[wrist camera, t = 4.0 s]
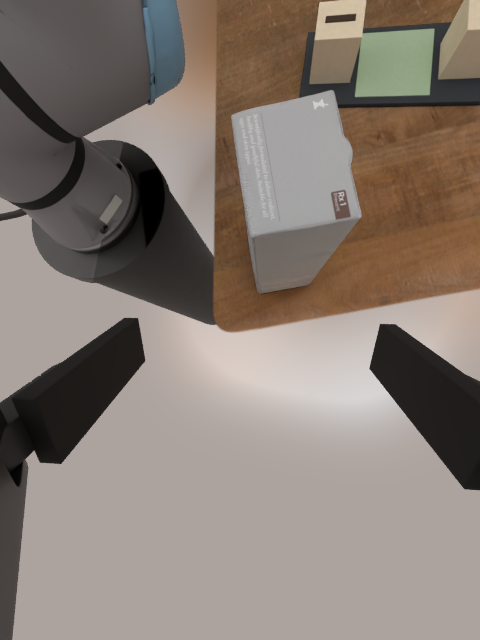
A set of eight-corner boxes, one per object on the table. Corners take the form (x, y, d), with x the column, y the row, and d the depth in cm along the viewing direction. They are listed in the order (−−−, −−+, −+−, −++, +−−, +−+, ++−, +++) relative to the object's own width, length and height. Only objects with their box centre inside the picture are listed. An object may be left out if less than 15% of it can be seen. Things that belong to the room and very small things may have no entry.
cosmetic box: (247, 234, 30) (215, 109, 14) (304, 222, 29) (337, 74, 13) (257, 298, 29) (235, 238, 13) (317, 288, 28) (370, 209, 12)
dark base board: (298, 108, 31) (302, 62, 26) (308, 36, 32) (313, -21, 27) (491, 104, 27) (538, 50, 22) (495, 23, 28) (540, -45, 24)
